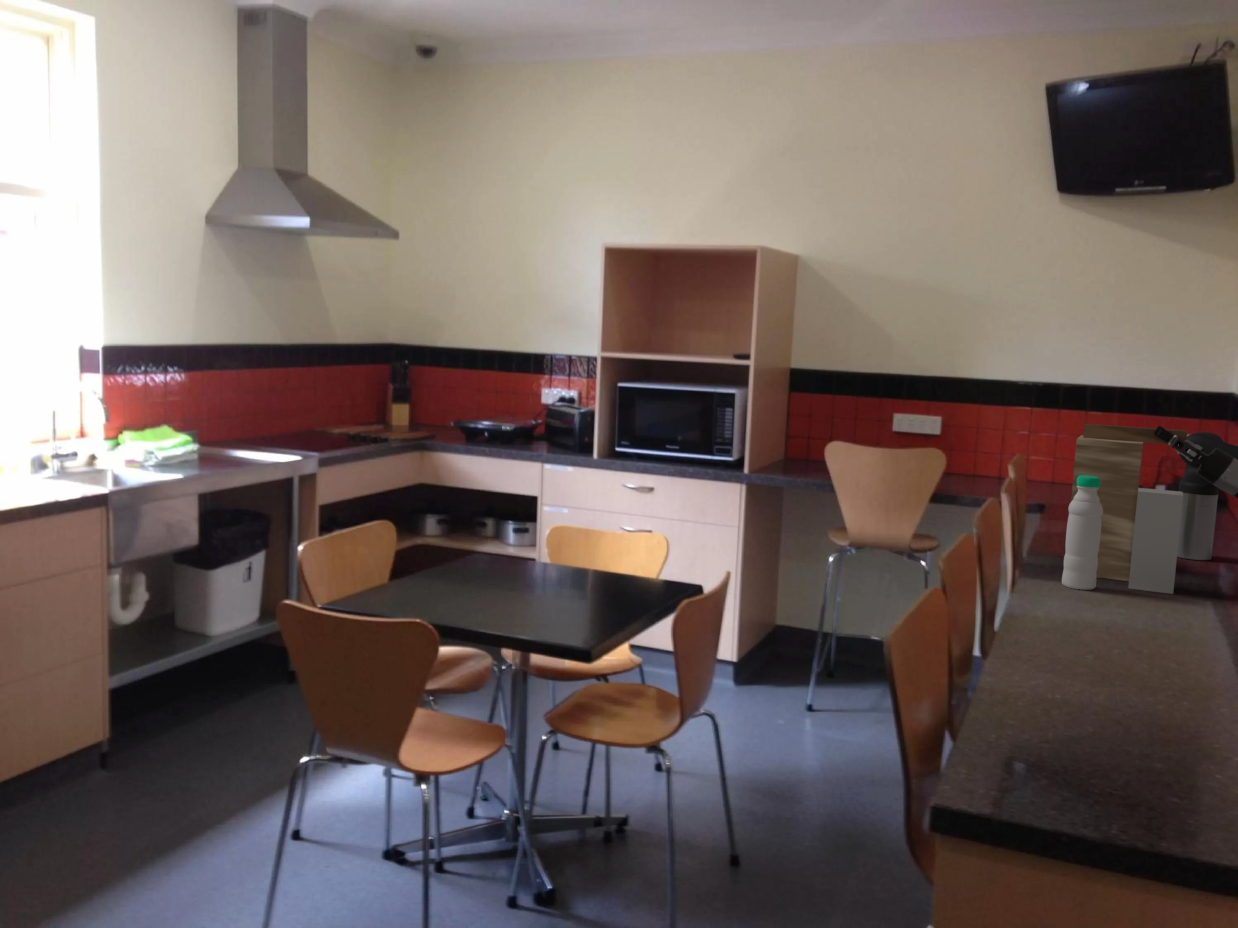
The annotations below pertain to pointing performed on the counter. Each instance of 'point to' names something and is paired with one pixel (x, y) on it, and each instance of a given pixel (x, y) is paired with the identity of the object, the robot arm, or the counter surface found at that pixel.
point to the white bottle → (1083, 536)
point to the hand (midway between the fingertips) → (1156, 429)
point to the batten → (1127, 433)
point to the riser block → (1155, 540)
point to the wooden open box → (1112, 498)
